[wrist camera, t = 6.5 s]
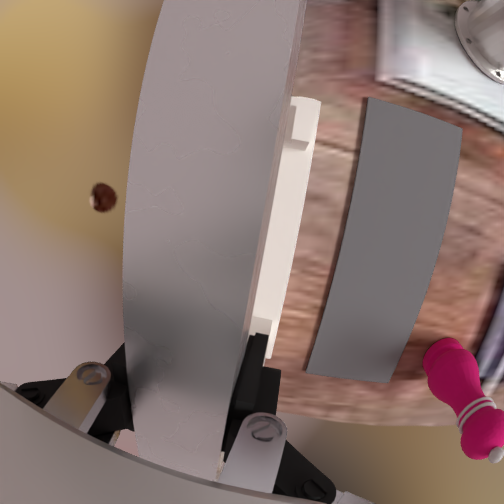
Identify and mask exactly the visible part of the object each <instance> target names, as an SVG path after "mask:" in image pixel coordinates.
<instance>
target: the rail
mask: <svg viewBox="0 0 504 504" xmlns="http://www.w3.org/2000/svg"><path fill="white" fill-rule="evenodd" d="M306 5H307V0H164V2H163V5H162V9H161V12H160V15H159V19H158V22H157V26H156V29H155V33H154V36H153V40H152V44H151V48H150V53H149V56H148V60H147V64H146V69H145V73H144V78H143V83H142V88H141V93H140V98H139V103H138V109H137V115H136V121H135V127H134V134H133V140H132V148H131V156H130V164H129V173H128V183H127V193H126V206H125V222H124V242H123V243H124V244H123V317H124V338H125V354H126V366H127V377H128V386H129V395H130V403H131V410H132V417H133V424H134V430H135V436H136V442H137V448H138V453H139V457H140V458H142V459H145V460H147V461H150V462H153V463H156V464H158V465H161V466H164V467H167V468H170V469H173V470H176V471H179V472H182V473H186V474H189V475H192V476H196V477H199V478H203V479H207V480H210V481H214V482H217V481H218V479H219V476H220V474H221V470H222V465H223V458H224V453H225V452H222V451H221V450H222V445H223V439H224V434H225V429H226V423H227V418H228V413H229V407H230V402H231V398H232V394H233V391H234V388H235V385H236V381H237V378H238V375H239V372H240V368H241V365H242V362H243V359H244V355H245V350H246V345H247V340H248V335H249V330H250V324H251V319H252V314H253V309H254V303H255V298H256V293H257V288H258V282H259V277H260V272H261V266H262V261H263V255H264V250H265V245H266V239H267V234H268V228H269V223H270V217H271V212H272V206H273V200H274V195H275V189H276V184H277V178H278V172H279V167H280V161H281V155H282V150H283V144H284V138H285V132H286V126H287V121H288V115H289V109H290V103H291V97H292V91H293V85H294V79H295V73H296V67H297V61H298V55H299V49H300V42H301V36H302V30H303V24H304V17H305V11H306Z"/></svg>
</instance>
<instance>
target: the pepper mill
mask: <svg viewBox="0 0 504 504" xmlns="http://www.w3.org/2000/svg"><path fill="white" fill-rule="evenodd" d="M423 368H424V370H425V372H426V374H427V376H428V386H429V388H430V390H431V392H432V393H433V395H434V396H435V397H437V398H438V399H439V400H441V401H443V402H444V403H447V404H448V405H450V406H451V407H452V408H453V410H454V412H455V413H456V415H457V422H456V425H457V427H458V428H459V431H460V433H461V434H462V437H461V447H462V450H463V451H464V453H465V454H466V455H467V456H468V457H469V458H471V459H476V460H478V459H479V460H480V459H484V458H487V457H488V459H489V461H490V462H491V463H497V462H499V461H500V460H501V459H502V457H503V455H504V450H503V449H502V448H501V447H502V446H503V445H504V411H502V410H501V409H496V404H495V403H493V400H492V398H490V397H486V396H485V395H484V393H483V391H482V389H481V386H480V380H479V369H478V365H477V362H476V360H475V358H474V356H473V355H472V354H471V353H470V352H469V351H467V350H465V349H463V347H462V346H461V345H460V343H459V342H458V341H457V340H455V339H453V338H445V339H441V340H439V341H437V342H436V343H434V344H433V345H432V346H431V347H430V348H429V349H428V350H427V352H426V354H425V356H424V358H423Z"/></svg>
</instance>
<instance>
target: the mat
mask: <svg viewBox="0 0 504 504" xmlns="http://www.w3.org/2000/svg"><path fill="white" fill-rule="evenodd" d="M462 130H463V129H462V128H459V127H457V126H455V125H452V124H450V123H447V122H445V121H442V120H439V119H437V118H434V117H431V116H429V115H426V114H423V113H420V112H417V111H414V110H411V109H408V108H405V107H402V106H399V105H395V104H392V103H389V102H385V101H382V100H378V99H375V98H371V97H368V100H367V108H366V115H365V122H364V129H363V135H362V142H361V148H360V154H359V160H358V166H357V171H356V177H355V182H354V187H353V192H352V197H351V202H350V207H349V212H348V217H347V221H346V226H345V230H344V235H343V239H342V243H341V248H340V252H339V256H338V260H337V264H336V268H335V272H334V276H333V280H332V284H331V287H330V291H329V295H328V298H327V302H326V306H325V309H324V313H323V316H322V320H321V323H320V327H319V330H318V333H317V337H316V340H315V343H314V346H313V350H312V353H311V356H310V359H309V362H308V365H307V368H306V373H309V374H316V375H322V376H329V377H337V378H344V379H352V380H361V381H371V382H381V383H388V382H389V380H390V378H391V376H392V374H393V372H394V370H395V368H396V366H397V364H398V361H399V359H400V357H401V355H402V353H403V350H404V348H405V346H406V343H407V341H408V339H409V336H410V334H411V332H412V329H413V327H414V324H415V322H416V319H417V316H418V314H419V311H420V309H421V306H422V303H423V300H424V298H425V295H426V292H427V289H428V286H429V283H430V280H431V277H432V274H433V271H434V267H435V264H436V261H437V257H438V254H439V250H440V247H441V243H442V239H443V236H444V232H445V228H446V224H447V219H448V215H449V211H450V206H451V201H452V196H453V191H454V186H455V180H456V175H457V169H458V162H459V155H460V147H461V139H462Z"/></svg>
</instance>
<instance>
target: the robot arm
mask: <svg viewBox="0 0 504 504" xmlns="http://www.w3.org/2000/svg"><path fill="white" fill-rule="evenodd" d="M455 27H456V31H457V34H458V37H459V39H460V42H461V43H462V45H463V47H464V49H465V51H466V52H467V54H468V55H469V57H470V58H471V59H472V60H473V62H474V63H475V64H476V65H477V66H478V67H479V68H480V69H481V70H482V71H483V72H484V73H485V74H486V75H487V76H489V77H490V78H492V79H493V80H495V81H496V82H499V83H501V84H504V0H481V1H480V2H479V1H472V0H471V1H466V2H464V3H463V4H461V5H460V6H459V7H458V9H457V11H456V13H455ZM268 338H269V335H267V334H262V333H257V332H256V333H255V336H254V335H249V338H248V342H247V345H246V350H245V355H244V359H243V362H242V365H241V368H240V372H239V375H238V378H237V381H236V385H235V388H234V391H233V394H232V398H231V402H230V407H229V413H228V418H227V423H226V429H225V434H224V439H223V445H222V450H221V451H222V452H225V453H224V458H223V461H224V462H225V465H224V467H223V470H222V472H221V474H220V476H219V479H218V481H217V482H214V481H210V480H207V479H203V478H199V477H196V476H192V475H189V474H186V473H182V472H179V471H176V470H173V469H170V468H167V467H164V466H161V465H158V464H156V463H153V462H150V461H147V460H145V459H142V458H140V457H137V456H135V455H132V454H130V453H127V452H125V451H122V450H120V449H118V448H116V447H114V445H115V443H116V441H117V439H118V437H119V435H120V431H121V430H123V429H129V430H131V431H135V430H134V424H133V417H132V410H131V403H130V395H129V386H128V377H127V366H126V354H125V342H124V343H123V344H122V345H121V347H120V348H119V349H118V350H117V351H116V352H115V353H114V354H113V355H112V356H111V357H110V358H109V360H108V361H107V362H106V363H105V364H104V365H103V364H101V363H98V362H85V363H82V364H80V365H78V366H77V367H76V368H75V369H74V370H73V371H72V373H71V374H70V375H69V376H68V377H67V378H64V379H56V380H47V381H37V382H29V383H24V384H22V385H20V386H19V387H18V386H17V384H12V383H6V382H1V381H0V504H375V503H373V502H370V501H368V500H365V499H363V498H360V497H358V496H356V495H353V494H351V493H349V492H345V493H342V492H340V491H338V490H336V488H335V486H334V484H333V483H332V481H331V480H330V479H329V478H327V477H326V476H325V475H324V474H323V473H322V472H320V471H319V470H318V469H317V468H316V467H315V466H314V465H313V464H312V463H310V462H309V461H308V460H307V459H306V458H305V457H304V456H303V455H301V454H300V453H299V452H298V451H297V450H296V449H295V448H294V447H293V446H292V445H291V444H290V443H289V442H288V441H287V440H286V436H287V427H286V425H285V423H284V422H283V421H282V420H281V419H280V418H278V417H277V416H276V409H277V401H278V394H279V386H280V378H281V370H279V369H274V368H269V367H264V366H263V363H264V358H265V353H266V348H267V343H268Z"/></svg>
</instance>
